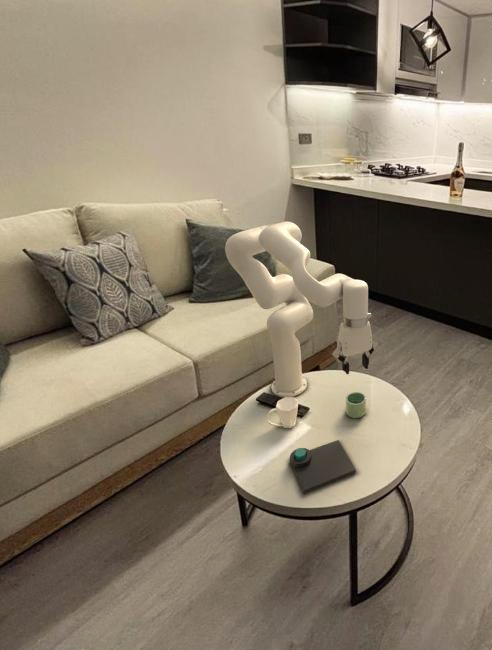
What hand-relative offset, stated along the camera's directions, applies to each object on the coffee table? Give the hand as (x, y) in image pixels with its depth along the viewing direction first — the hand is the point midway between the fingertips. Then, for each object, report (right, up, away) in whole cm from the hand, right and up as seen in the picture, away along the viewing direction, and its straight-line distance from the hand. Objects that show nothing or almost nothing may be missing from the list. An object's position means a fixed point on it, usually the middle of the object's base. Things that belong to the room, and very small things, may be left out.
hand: (355, 368), depth 131 cm
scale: (-8, -25, -15) cm, 30 cm away
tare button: (-14, -22, -15) cm, 30 cm away
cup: (-23, -18, 0) cm, 29 cm away
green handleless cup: (-1, -16, +7) cm, 18 cm away
